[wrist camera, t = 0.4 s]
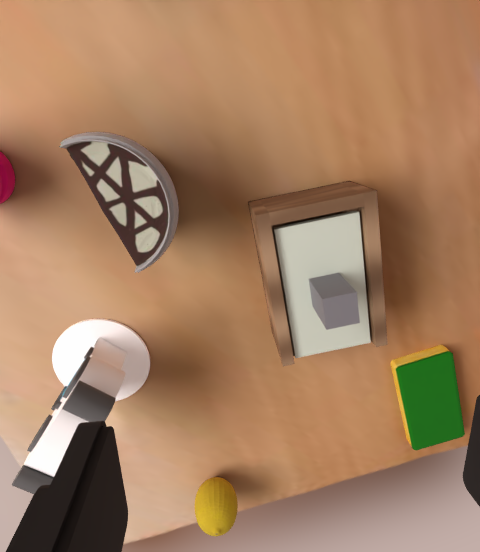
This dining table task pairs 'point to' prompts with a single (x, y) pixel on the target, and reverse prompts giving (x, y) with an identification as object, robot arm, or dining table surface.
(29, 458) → the panda figurine
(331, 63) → the dining table surface
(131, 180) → the food container
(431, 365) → the dish sponge
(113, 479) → the robot arm
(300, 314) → the cover plate
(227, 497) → the lemon
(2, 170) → the pepper mill
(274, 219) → the slide box
